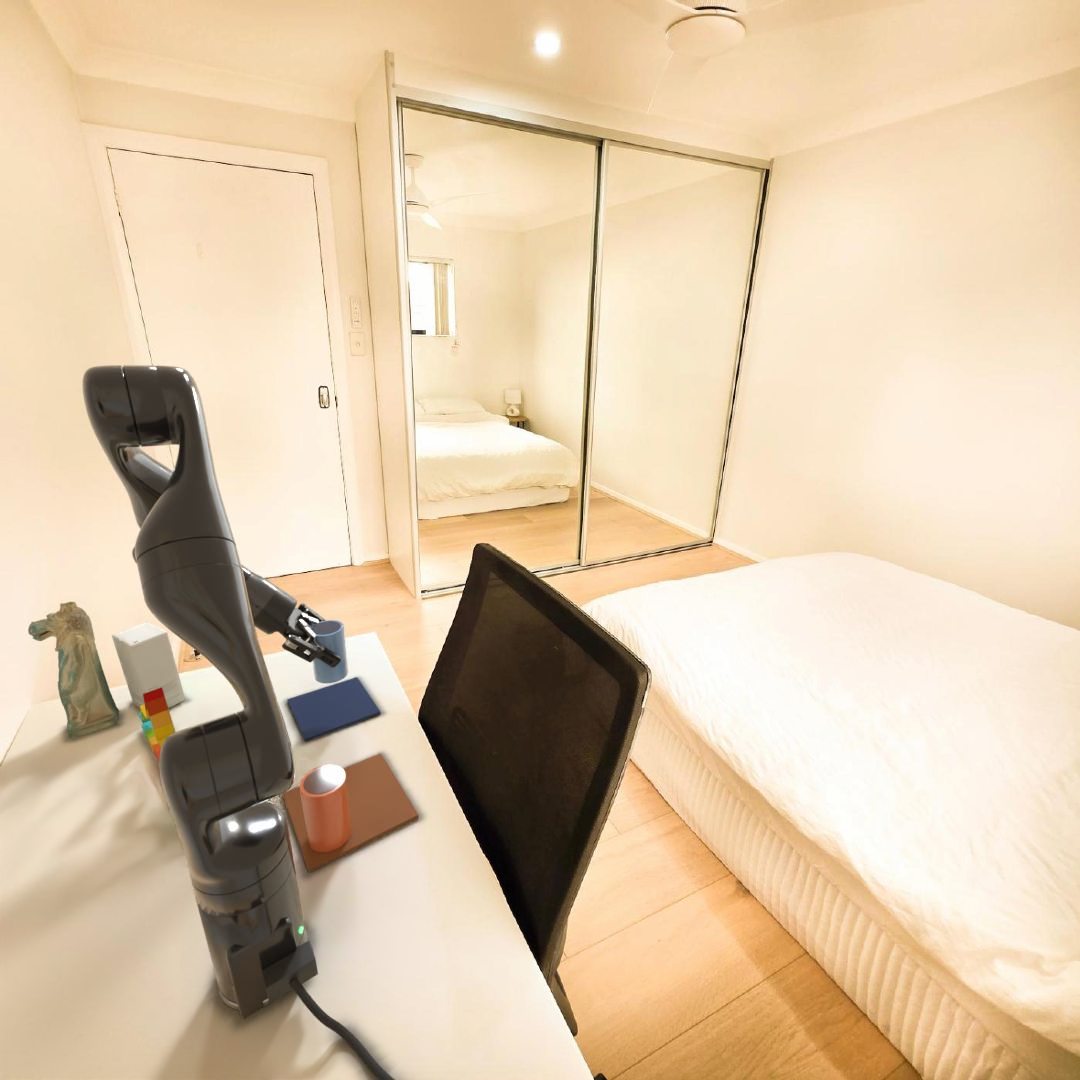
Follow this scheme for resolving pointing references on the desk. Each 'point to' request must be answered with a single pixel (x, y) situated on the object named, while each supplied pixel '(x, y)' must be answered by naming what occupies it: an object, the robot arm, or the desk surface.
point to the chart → (156, 719)
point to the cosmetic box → (148, 663)
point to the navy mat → (332, 708)
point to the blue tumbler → (334, 640)
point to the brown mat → (359, 809)
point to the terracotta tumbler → (326, 808)
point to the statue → (78, 670)
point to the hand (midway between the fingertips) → (338, 653)
